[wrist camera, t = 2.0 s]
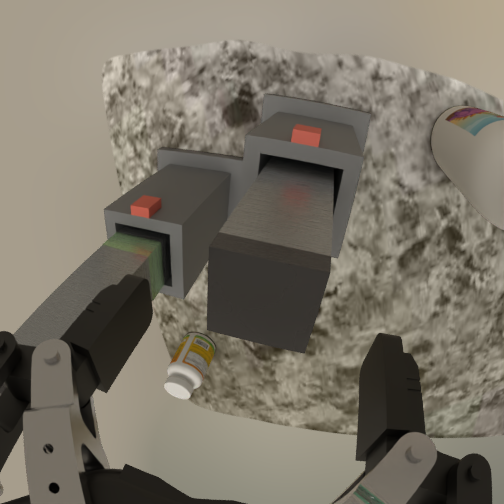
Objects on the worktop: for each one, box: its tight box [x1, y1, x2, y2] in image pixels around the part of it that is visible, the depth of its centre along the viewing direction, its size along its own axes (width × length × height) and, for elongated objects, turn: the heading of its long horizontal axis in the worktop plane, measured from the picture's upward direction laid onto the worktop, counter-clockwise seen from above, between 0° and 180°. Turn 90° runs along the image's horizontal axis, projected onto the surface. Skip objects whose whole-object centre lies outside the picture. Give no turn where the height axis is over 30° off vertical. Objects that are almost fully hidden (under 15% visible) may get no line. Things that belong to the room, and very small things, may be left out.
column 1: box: [0, 225, 172, 396], centre depth 21 cm, size 4×4×22 cm
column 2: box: [207, 156, 334, 353], centre depth 20 cm, size 4×4×22 cm
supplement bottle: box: [164, 333, 215, 399], centre depth 46 cm, size 5×5×10 cm
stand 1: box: [104, 147, 243, 299], centre depth 30 cm, size 10×10×13 cm
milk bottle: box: [431, 106, 504, 230], centre depth 17 cm, size 8×8×20 cm
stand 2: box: [239, 94, 371, 258], centre depth 25 cm, size 10×10×13 cm
